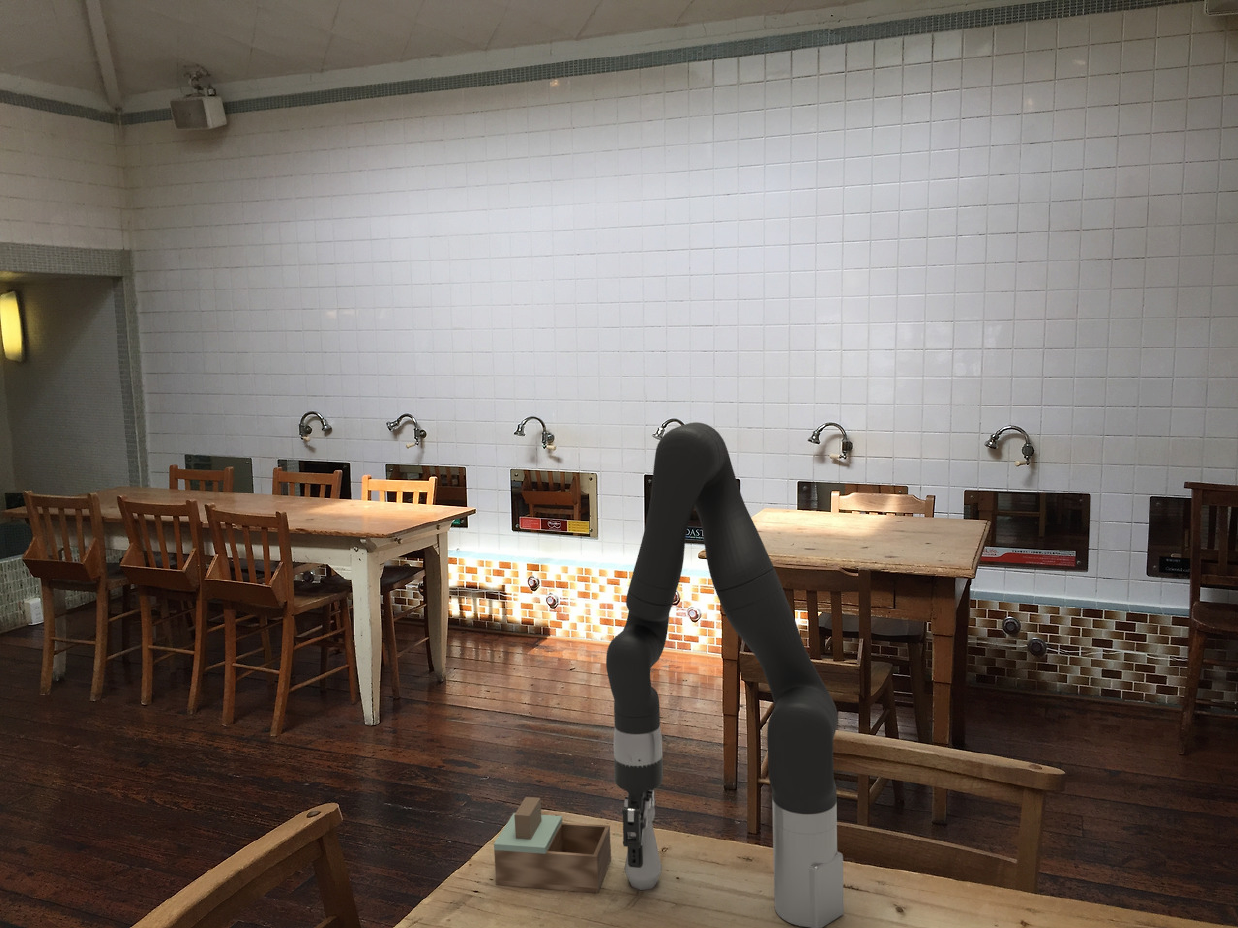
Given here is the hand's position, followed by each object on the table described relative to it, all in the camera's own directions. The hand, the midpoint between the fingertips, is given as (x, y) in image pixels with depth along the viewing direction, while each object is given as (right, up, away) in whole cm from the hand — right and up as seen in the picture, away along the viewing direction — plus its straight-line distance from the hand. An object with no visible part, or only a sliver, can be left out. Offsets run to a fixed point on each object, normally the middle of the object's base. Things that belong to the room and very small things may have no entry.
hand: (640, 851), depth 147 cm
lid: (-18, +1, +5) cm, 19 cm away
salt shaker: (0, -5, +1) cm, 5 cm away
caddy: (-14, -5, +5) cm, 16 cm away
